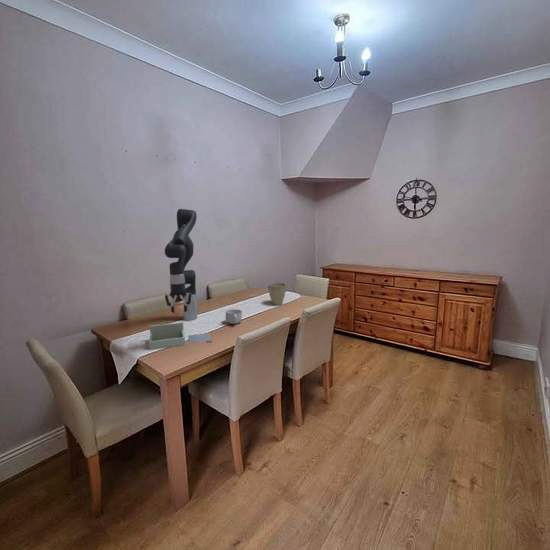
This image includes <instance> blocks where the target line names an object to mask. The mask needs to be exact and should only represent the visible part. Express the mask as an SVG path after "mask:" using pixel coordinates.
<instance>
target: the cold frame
mask: <svg viewBox="0 0 550 550" xmlns="http://www.w3.org/2000/svg"><path fill="white" fill-rule="evenodd" d="M185 338H186V337H185V332H184V322H175V323H165V324H156V325H149V338H148V339H149V340H148V344H149V350H157V349H164V348H171V347H178V346H184V345H186V339H185Z"/></svg>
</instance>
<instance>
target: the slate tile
mask: <svg viewBox="0 0 550 550" xmlns="http://www.w3.org/2000/svg"><path fill="white" fill-rule="evenodd" d="M187 339H188V343H189V344H196V343H197V344H198V343H203V342H206V343H207V344H208V343H213V341H212V337H211V335H210V333H209V332H205V333H198V334H197V333H196V334H189V335H187Z"/></svg>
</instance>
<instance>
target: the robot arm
mask: <svg viewBox="0 0 550 550" xmlns="http://www.w3.org/2000/svg"><path fill="white" fill-rule="evenodd" d="M196 223H197V212H196V211H195V210H193V209H186V208H185V209H184V208H178V210H177V211H176V226H177V229H176V231H175V233H174V234H173V237H172V238H171V240H170V241H168V243H167V244H166V246H165V248H164V255H165V256H166V257H167V258H169V259H178V260H177V261H173V262H170V264H169V285H170V292H169V294H164V299H165V302H166V306H168V307H170V312H171V313H172V314H174V306H173V305H174V304H173V302H175V301H178V300H179V301H184V302H185V303H184V309H185V313H184V314H182V316H183V317H182V319H183V320H184V321H193V320H196V319H198V303H197V288H196V287H197V286H196V285H197V284H196V282H197V281H196V280H197V279H196V278H197V277H196V276H197V275H196V272H195V270H193V269H188V270H185V269H186V266H187V264H188V263H189V262H190V260H191V259H192V257H193V256H194V242H193V241H192V239H191V238H190V233H191V232H192V230H193V228H194V227H195V225H196ZM186 285H189V286H187V287H186ZM170 298H172V300H171V302H170V300H169V299H170Z"/></svg>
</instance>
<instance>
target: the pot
mask: <svg viewBox="0 0 550 550" xmlns="http://www.w3.org/2000/svg"><path fill="white" fill-rule="evenodd" d="M184 303H185V302H184V301H179V300H178V301H175V302H173V304H174V305H173V306H174V313H173V314H174V315H175V316H181V315H182V316H183V314H184V313H185V309H184Z"/></svg>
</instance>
